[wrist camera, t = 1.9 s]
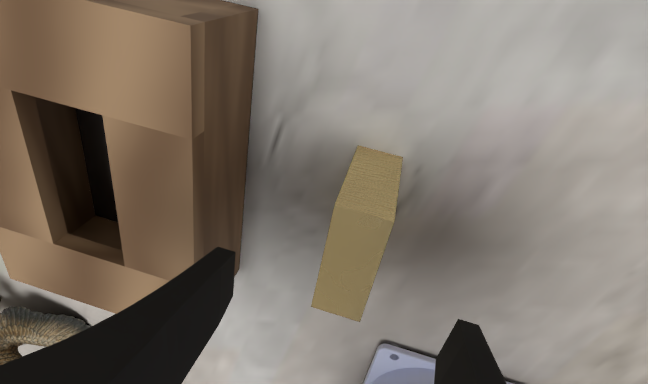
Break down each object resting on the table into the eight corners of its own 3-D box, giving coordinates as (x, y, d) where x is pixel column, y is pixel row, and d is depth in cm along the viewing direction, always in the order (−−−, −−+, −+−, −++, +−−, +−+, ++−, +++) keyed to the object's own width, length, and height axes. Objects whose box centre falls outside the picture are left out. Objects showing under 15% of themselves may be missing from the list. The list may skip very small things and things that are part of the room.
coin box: (257, 8, 15) (190, 25, 10) (238, 269, 22) (194, 339, 18) (30, -44, 16) (-114, -48, 12) (85, 222, 23) (10, 278, 19)
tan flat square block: (402, 156, 16) (394, 221, 12) (374, 244, 19) (359, 321, 15) (358, 145, 17) (334, 204, 12) (336, 233, 19) (310, 306, 15)
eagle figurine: (-5, 346, 32) (74, 405, 30) (-116, 380, 25) (-22, 460, 23) (35, 266, 32) (117, 320, 30) (-65, 278, 25) (34, 350, 23)
